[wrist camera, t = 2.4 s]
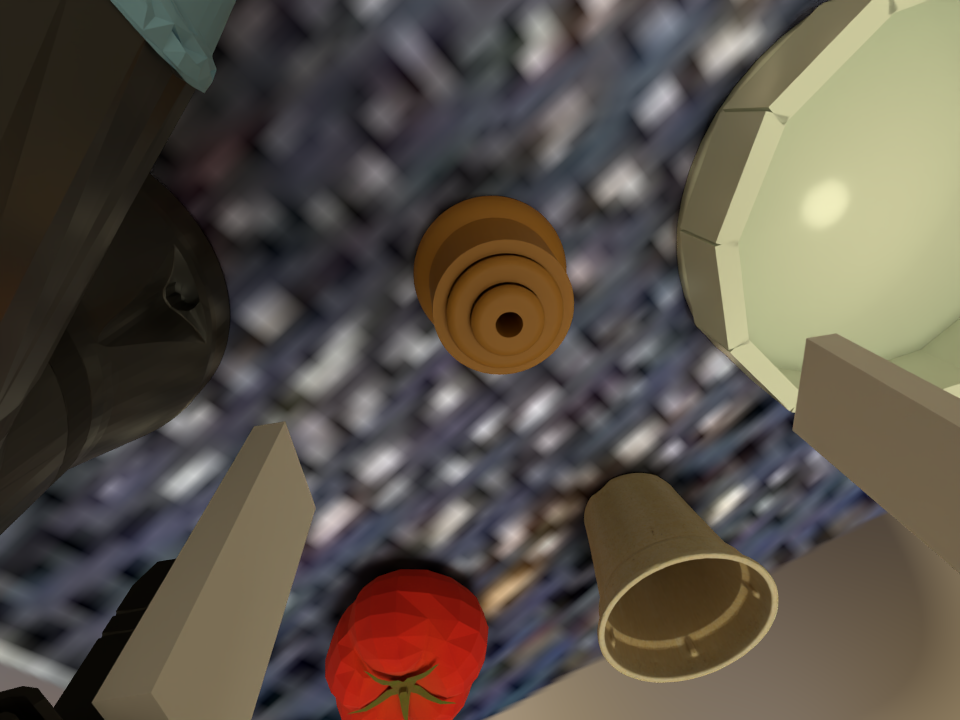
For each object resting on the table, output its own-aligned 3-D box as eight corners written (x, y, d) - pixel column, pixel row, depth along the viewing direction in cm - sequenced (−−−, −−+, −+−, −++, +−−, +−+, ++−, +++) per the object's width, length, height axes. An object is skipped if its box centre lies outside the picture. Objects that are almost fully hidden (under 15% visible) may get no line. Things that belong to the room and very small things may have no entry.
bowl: (597, 231, 26) (628, 252, 22) (955, -154, 21) (1084, -221, 17) (808, 437, 33) (861, 482, 29) (1119, 187, 27) (1239, 199, 23)
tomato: (498, 564, 35) (511, 653, 29) (452, 667, 39) (456, 764, 34) (355, 540, 33) (339, 631, 27) (323, 651, 37) (303, 751, 32)
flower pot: (675, 424, 31) (755, 525, 24) (716, 525, 35) (796, 640, 28) (537, 488, 33) (570, 604, 25) (591, 579, 37) (634, 704, 29)
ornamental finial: (501, 158, 24) (587, 277, 27) (383, 259, 26) (476, 361, 29) (531, 175, 17) (644, 335, 20) (364, 313, 18) (491, 443, 21)
